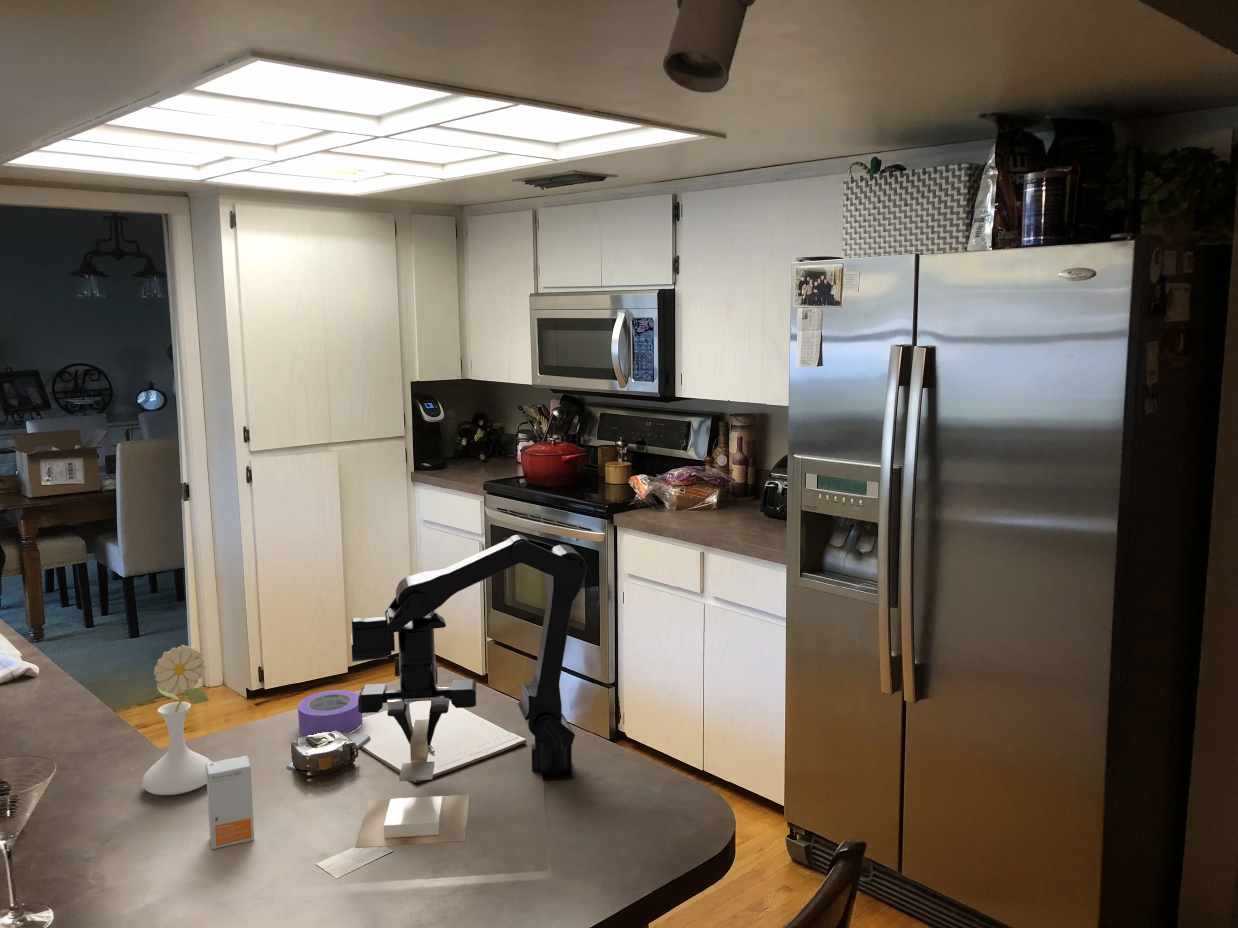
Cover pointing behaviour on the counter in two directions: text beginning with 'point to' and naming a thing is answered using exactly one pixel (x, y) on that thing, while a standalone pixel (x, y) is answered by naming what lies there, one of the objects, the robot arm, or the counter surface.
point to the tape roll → (329, 712)
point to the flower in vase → (178, 724)
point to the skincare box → (230, 801)
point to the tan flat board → (449, 832)
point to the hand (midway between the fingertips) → (420, 744)
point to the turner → (418, 755)
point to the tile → (413, 817)
